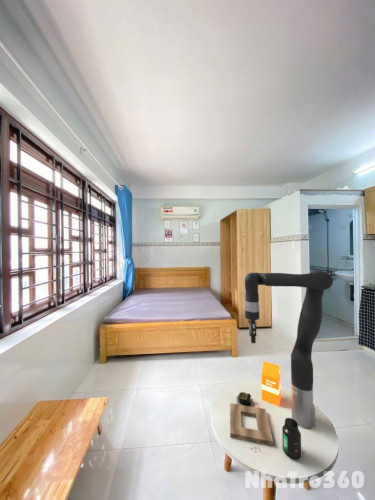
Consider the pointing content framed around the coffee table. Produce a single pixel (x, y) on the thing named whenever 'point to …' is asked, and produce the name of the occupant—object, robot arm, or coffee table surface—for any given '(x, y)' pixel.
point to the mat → (250, 400)
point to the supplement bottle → (291, 439)
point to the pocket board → (248, 434)
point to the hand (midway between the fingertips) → (252, 339)
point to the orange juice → (271, 383)
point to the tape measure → (244, 399)
